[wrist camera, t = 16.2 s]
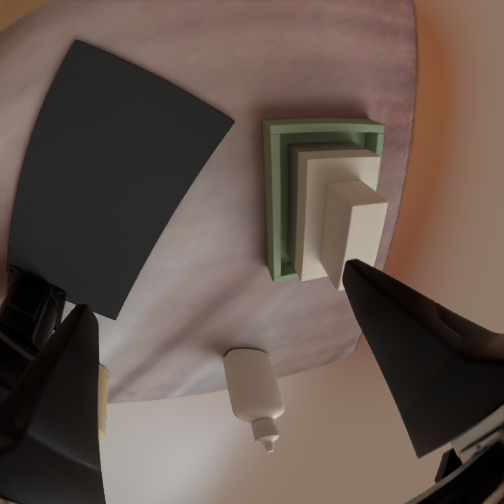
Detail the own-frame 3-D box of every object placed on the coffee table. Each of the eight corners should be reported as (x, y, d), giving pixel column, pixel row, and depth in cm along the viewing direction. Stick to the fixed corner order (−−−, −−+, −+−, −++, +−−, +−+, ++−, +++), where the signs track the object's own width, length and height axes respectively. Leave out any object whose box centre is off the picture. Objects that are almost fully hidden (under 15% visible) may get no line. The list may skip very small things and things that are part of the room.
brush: (341, 243, 23) (379, 295, 18) (286, 253, 23) (315, 312, 18) (352, 141, 18) (410, 175, 13) (287, 143, 17) (331, 179, 12)
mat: (116, 317, 24) (115, 320, 23) (8, 268, 18) (6, 271, 18) (234, 120, 16) (235, 121, 16) (77, 39, 10) (75, 39, 10)
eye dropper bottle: (244, 371, 33) (265, 458, 24) (217, 354, 30) (235, 455, 20) (273, 356, 32) (301, 446, 23) (249, 338, 29) (277, 442, 20)
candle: (83, 380, 29) (77, 447, 21) (61, 358, 26) (49, 431, 18) (116, 379, 30) (114, 450, 22) (95, 356, 27) (87, 435, 19)
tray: (353, 252, 25) (362, 264, 23) (267, 268, 24) (273, 283, 22) (370, 119, 17) (385, 125, 16) (262, 120, 16) (269, 125, 15)
